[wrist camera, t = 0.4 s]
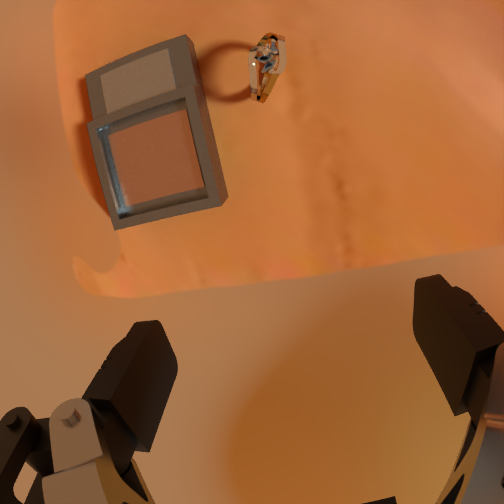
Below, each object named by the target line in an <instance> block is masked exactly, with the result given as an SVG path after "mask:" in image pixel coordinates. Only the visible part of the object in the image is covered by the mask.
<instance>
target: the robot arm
mask: <svg viewBox="0 0 504 504" xmlns="http://www.w3.org/2000/svg"><path fill="white" fill-rule="evenodd" d="M413 331H414V335H415V338H416V341H417V343H418V344H419V346H420V348H421V350H422V352H423V353H424V356H425V357H426V359H427V361H428V363H429V365H430V367H431V369H432V371H433V373H434V375H435V377H436V379H437V381H438V382H439V384H440V387H441V389H442V391H443V392H444V394H445V397H446V399H447V401H448V403H449V405H450V407H451V409H452V412H453V413H454V416H457V415H460V414H463V413H465V412H469V414H470V416H471V419H470V421H469V424H468V427H467V430H466V433H465V436H464V439H463V442H462V445H461V448H460V451H459V454H458V457H457V459H456V462H455V464H454V467H453V470H452V472H451V474H450V477H449V479H448V481H447V483H446V485H445V487H444V489H443V491H442V492H441V494H440V496H439V498H438V500H437V502H436V503H435V504H504V331H503V330H502V329H501V327H500V326H499V325H498V324H497V323H496V322H495V321H494V319H493V318H492V317H491V316H490V315H489V314H488V313H487V312H485V309H484V308H482V306H481V305H480V304H479V305H478V302H477V301H476V300H475V299H474V298H473V296H472V295H471V294H470V293H468V292H466V291H464V290H463V289H461V288H459V287H457V286H455V287H452V286H451V285H450V284H449V283H448V282H447V281H446V280H445V279H444V278H443V277H442V276H441V275H440V274H437V275H432V276H429V277H423V278H419V279H417V280H416V282H415V290H414V310H413ZM106 359H107V360H105V361H104V362H103V364H102V366H101V369H99V370H98V372H97V373H96V375H95V377H94V378H93V380H92V382H91V383H90V385H89V386H88V388H87V390H86V391H85V393H84V395H83V396H82V398H81V399H79V398H76V399H70V400H68V401H65V402H64V403H62V404H60V405H59V406H58V407H57V408H56V409H55V410H54V411H53V413H52V415H51V417H50V418H44V419H35V417H34V416H33V415H32V414H31V412H30V411H29V410H28V409H27V408H25V407H17V408H14V409H12V410H10V411H9V412H7V413H6V414H5V416H4V417H3V418H2V419H1V421H0V504H22V503H21V502H20V501H19V500H17V498H16V497H15V495H14V492H13V487H14V483H15V481H16V479H17V477H18V475H19V473H20V471H21V469H22V467H23V465H24V463H25V461H26V462H27V463H28V464H29V465H30V466H31V467H32V468H33V469H34V470H35V471H36V472H37V476H36V478H35V480H34V482H33V485H32V487H31V489H30V491H29V494H28V496H27V498H26V501H25V503H24V504H155V502H154V500H153V498H152V496H151V494H150V492H149V490H148V488H147V486H146V484H145V481H144V479H143V477H142V475H141V473H140V471H139V468H138V466H137V464H136V462H135V460H134V459H133V458H132V456H133V454H134V451H141V452H150V449H151V446H152V443H153V441H154V438H155V435H156V432H157V429H158V426H159V423H160V420H161V418H162V415H163V412H164V409H165V406H166V403H167V401H168V398H169V395H170V392H171V390H172V387H173V384H174V381H175V379H176V376H177V371H178V364H177V360H176V356H175V354H174V352H173V349H172V347H171V345H170V342H169V340H168V338H167V336H166V334H165V331H164V329H163V326H162V324H161V323H160V322H159V321H158V320H153V321H152V320H151V321H141V322H136V323H134V324H133V326H132V328H131V329H130V331H129V332H128V334H127V335H126V337H125V338H123V339H122V340H121V341H120V342H119V343H118V344H116V345H115V346H114V347H113V348H112V350H111V351H110V353H109V355H108V356H107V358H106ZM364 504H397V503H396V499H395V496H394V497H390V498H386V499H381V500H377V501H373V502H368V503H364Z"/></svg>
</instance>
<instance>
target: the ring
mask: <svg viewBox="0 0 504 504" xmlns="http://www.w3.org/2000/svg"><path fill="white" fill-rule="evenodd" d="M270 43H271V44H270ZM269 44H270V50H269ZM259 52H260V57H258V53H259ZM248 61H249V72H250V88H251V99H252V100H254V101H258V102H260V103H264V102H265V100H266V99H267V97H268V96H269V94H270V92H271V90H272V88H273V86H274V84H275V82H276V80H277V78H278V76H279V75H280V74H281V73H282V72H283V71H284V69H285V67H286V49H285V37H284V36H281V35H279V36H278V35H277V34H274V33H271V32H270V33H267V34H266V35H265V36H264V37H263V38H262V39H261V40H260V41H259V43H258V45H257V46H254V47H252V48H251V50H250V52H249V58H248ZM257 62H260V63H266V64H265V65H264V68H263V69H262V71H261V72H262V73H264V78H263V80H262V83H261V85H260V87H259V73H258V63H257ZM277 64H278V65H277ZM276 66H277V68H276Z"/></svg>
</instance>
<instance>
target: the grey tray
mask: <svg viewBox="0 0 504 504" xmlns="http://www.w3.org/2000/svg"><path fill="white" fill-rule="evenodd" d="M85 77H86V83H87V89H88V95H89V101H90V106H91V111H92V116H93V121H90V122H88V123H87V128H88V132H89V137H90V142H91V146H92V150H93V155H94V159H95V163H96V167H97V171H98V175H99V179H100V182H101V186H102V190H103V193H104V197H105V201H106V204H107V207H108V211H109V214H110V217H111V221H112V224H113V227H114V230H119V229H123V228H127V227H131V226H135V225H139V224H143V223H147V222H151V221H156V220H160V219H164V218H169V217H173V216H177V215H182V214H186V213H191V212H195V211H200V210H205V209H209V208H214V207H219V206H222V205H223V203H224V202H225V201H226V199H227V198H228V193H227V189H226V185H225V180H224V176H223V172H222V168H221V163H220V159H219V155H218V150H217V146H216V142H215V137H214V133H213V129H212V124H211V120H210V116H209V111H208V107H207V102H206V98H205V94H204V89H203V85H202V80H201V76H200V71H199V67H198V62H197V58H196V53H195V49H194V44H193V42H192V41H191V40H190V38H189V37H188V36H187V35H186V34H185V35H182V36H179V37H176V38H173V39H170V40H167V41H164V42H161V43H159V44H156V45H153V46H150V47H148V48H145V49H142V50H140V51H137V52H135V53H132V54H130V55H128V56H125V57H123V58H121V59H118V60H116V61H114V62H112V63H109V64H107V65H105V66H103V67H101V68H99V69H97V70H95V71H92V72H90V73H88V74H86V75H85Z"/></svg>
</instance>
